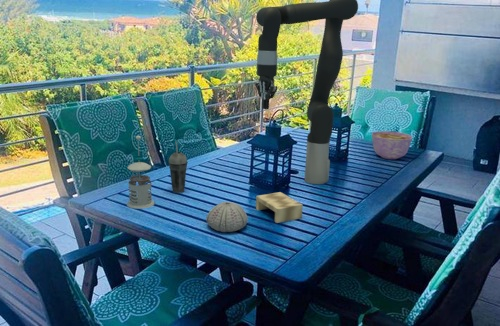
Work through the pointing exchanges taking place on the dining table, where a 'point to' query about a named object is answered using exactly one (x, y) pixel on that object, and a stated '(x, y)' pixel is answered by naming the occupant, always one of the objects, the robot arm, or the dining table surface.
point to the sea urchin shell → (227, 217)
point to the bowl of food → (391, 144)
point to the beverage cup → (178, 171)
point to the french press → (139, 186)
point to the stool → (280, 206)
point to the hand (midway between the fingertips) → (265, 109)
